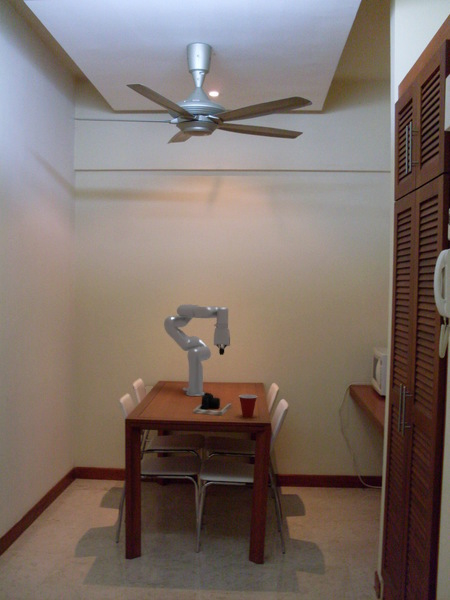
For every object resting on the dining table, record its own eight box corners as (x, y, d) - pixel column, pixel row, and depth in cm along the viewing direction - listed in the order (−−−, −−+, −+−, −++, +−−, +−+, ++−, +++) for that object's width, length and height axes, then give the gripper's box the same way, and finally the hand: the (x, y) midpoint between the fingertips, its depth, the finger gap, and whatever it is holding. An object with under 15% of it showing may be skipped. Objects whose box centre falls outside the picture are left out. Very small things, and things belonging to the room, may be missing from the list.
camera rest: (193, 413, 316) (193, 409, 316) (204, 404, 337) (204, 401, 337) (221, 415, 311) (221, 412, 311) (231, 406, 333) (231, 403, 333)
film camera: (215, 411, 320) (215, 396, 320) (199, 410, 322) (199, 395, 322) (221, 405, 335) (221, 391, 335) (206, 404, 337) (206, 390, 337)
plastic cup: (256, 413, 317) (256, 393, 316) (258, 418, 306) (258, 397, 305) (237, 413, 316) (238, 393, 316) (238, 418, 305) (239, 397, 305)
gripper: (209, 326, 349) (208, 354, 350) (232, 327, 345) (231, 356, 346) (212, 325, 356) (212, 353, 357) (234, 326, 352) (234, 354, 353)
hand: (221, 354), depth 351 cm, fingers closed
